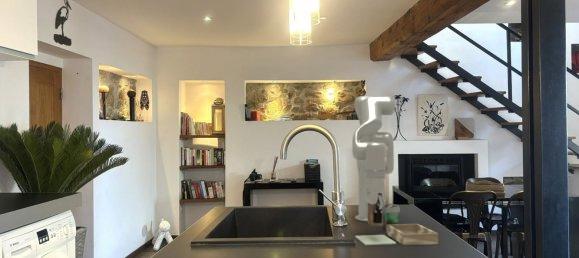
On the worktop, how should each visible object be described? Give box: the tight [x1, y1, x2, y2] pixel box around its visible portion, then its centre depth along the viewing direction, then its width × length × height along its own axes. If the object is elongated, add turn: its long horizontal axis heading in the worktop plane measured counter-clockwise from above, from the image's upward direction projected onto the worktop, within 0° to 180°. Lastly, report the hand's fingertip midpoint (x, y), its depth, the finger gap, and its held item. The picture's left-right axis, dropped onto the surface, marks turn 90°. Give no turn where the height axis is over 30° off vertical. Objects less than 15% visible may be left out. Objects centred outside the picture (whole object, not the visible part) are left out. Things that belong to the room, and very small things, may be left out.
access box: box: [386, 223, 439, 246], centre depth 160 cm, size 17×14×4 cm
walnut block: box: [367, 203, 384, 227], centre depth 157 cm, size 4×4×8 cm
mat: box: [355, 234, 397, 246], centre depth 157 cm, size 12×12×1 cm
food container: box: [384, 202, 401, 232], centre depth 177 cm, size 12×6×10 cm, turn 168°
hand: (375, 221), depth 157 cm, fingers closed on walnut block, 4 cm apart
